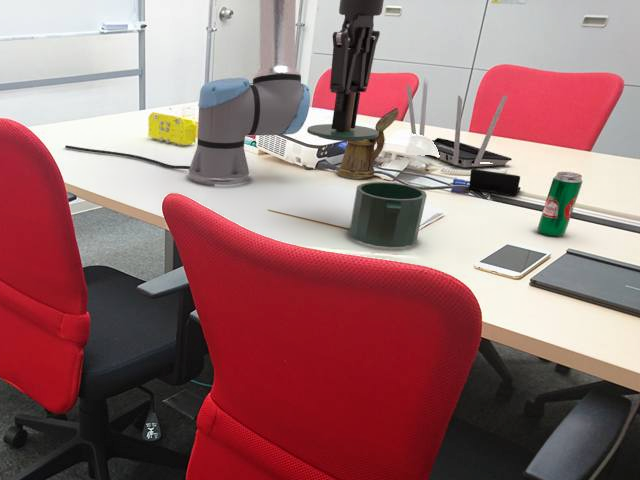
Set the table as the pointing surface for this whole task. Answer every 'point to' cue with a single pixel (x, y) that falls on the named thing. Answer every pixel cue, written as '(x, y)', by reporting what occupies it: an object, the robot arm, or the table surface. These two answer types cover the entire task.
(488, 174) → the black box
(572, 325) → the table surface
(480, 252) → the table surface
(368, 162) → the wooden mug
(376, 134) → the lid
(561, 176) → the soda can
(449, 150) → the wireless router
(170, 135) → the yellow toy chassis
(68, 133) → the table surface
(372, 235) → the tin
